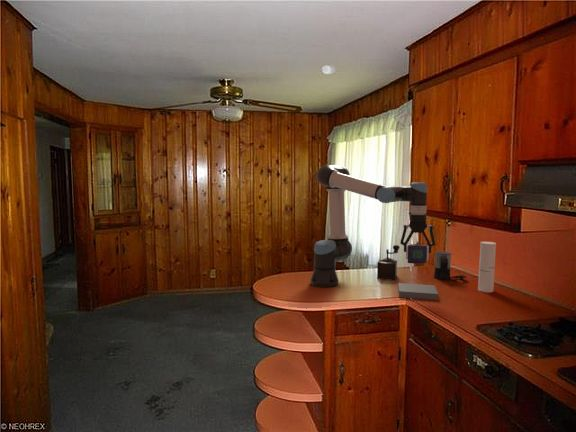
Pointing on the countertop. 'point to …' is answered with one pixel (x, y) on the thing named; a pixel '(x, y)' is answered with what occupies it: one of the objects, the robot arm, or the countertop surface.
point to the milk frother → (444, 266)
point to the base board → (417, 291)
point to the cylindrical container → (487, 266)
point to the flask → (417, 253)
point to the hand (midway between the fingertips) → (417, 258)
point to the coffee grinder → (388, 266)
